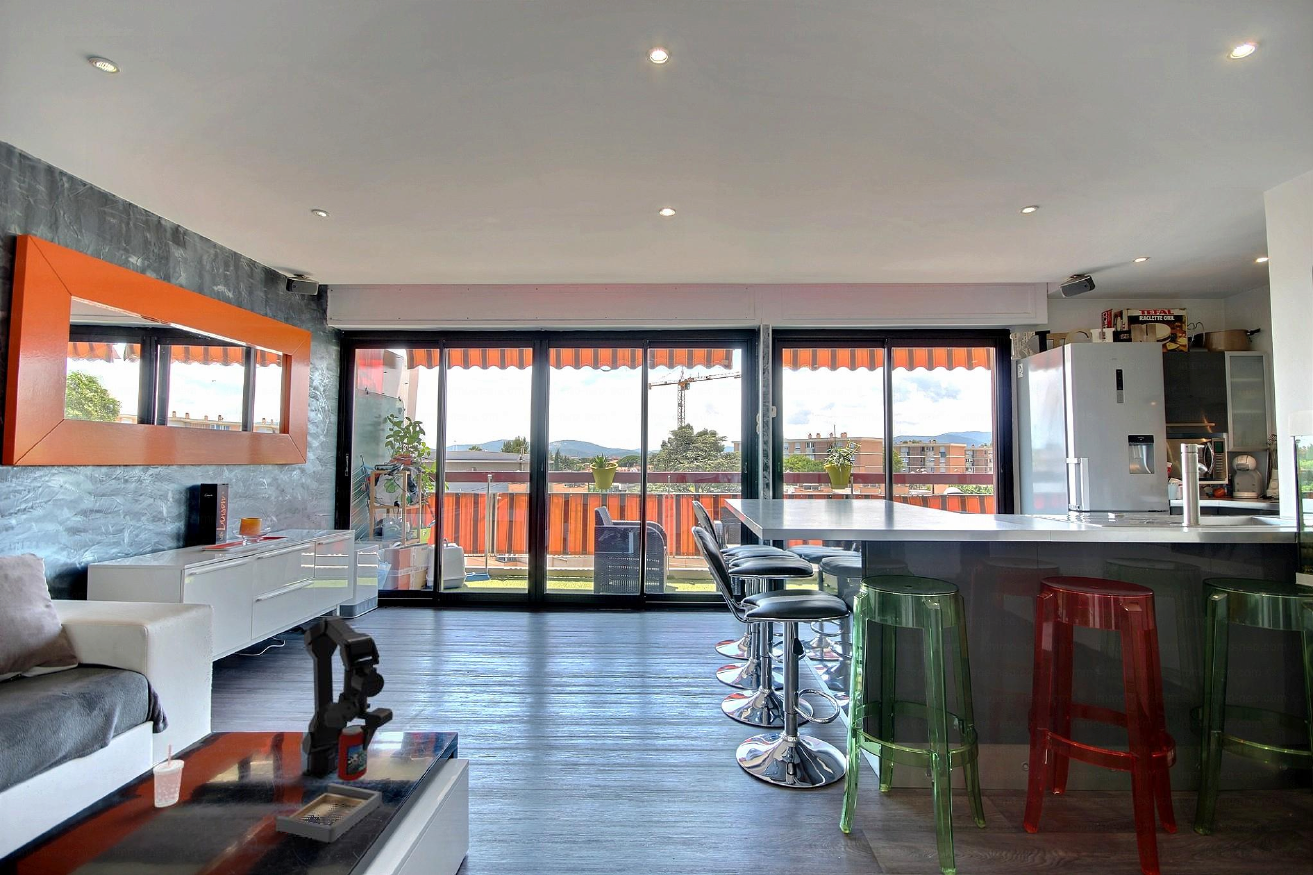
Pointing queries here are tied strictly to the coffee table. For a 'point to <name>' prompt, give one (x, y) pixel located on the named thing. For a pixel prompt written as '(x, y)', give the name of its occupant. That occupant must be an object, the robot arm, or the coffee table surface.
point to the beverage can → (351, 754)
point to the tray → (328, 807)
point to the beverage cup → (167, 781)
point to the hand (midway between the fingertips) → (353, 748)
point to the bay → (340, 827)
